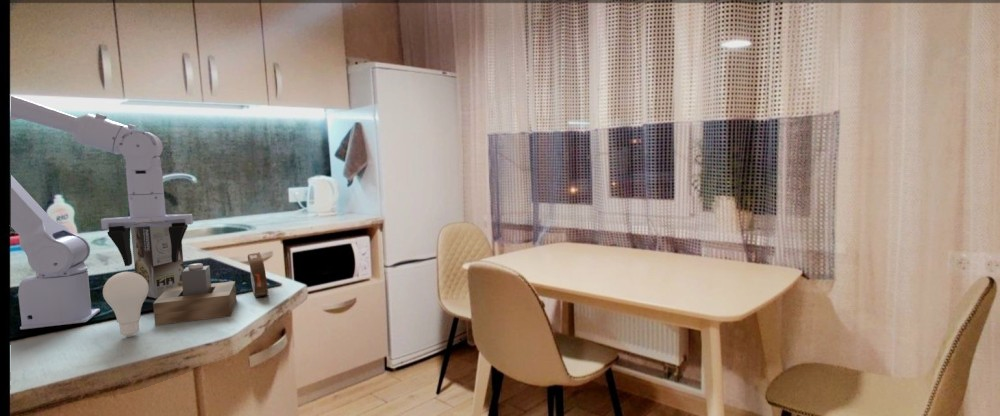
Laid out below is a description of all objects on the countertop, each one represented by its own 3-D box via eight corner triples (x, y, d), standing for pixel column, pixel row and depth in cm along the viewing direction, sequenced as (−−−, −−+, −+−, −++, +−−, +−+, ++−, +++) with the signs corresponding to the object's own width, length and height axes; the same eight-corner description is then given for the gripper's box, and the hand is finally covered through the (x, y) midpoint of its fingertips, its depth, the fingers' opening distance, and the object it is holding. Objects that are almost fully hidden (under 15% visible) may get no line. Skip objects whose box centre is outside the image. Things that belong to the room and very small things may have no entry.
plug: (183, 305, 95) (180, 267, 95) (188, 299, 99) (186, 263, 98) (207, 302, 97) (205, 265, 96) (211, 297, 100) (209, 261, 100)
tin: (269, 299, 106) (266, 260, 105) (252, 301, 105) (250, 261, 104) (263, 284, 119) (261, 249, 118) (248, 286, 118) (246, 250, 117)
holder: (154, 325, 90) (153, 303, 90) (169, 307, 101) (167, 287, 101) (230, 316, 95) (229, 295, 94) (236, 299, 106) (235, 281, 105)
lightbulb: (111, 334, 86) (104, 270, 85) (154, 328, 89) (148, 266, 88) (104, 345, 80) (97, 278, 79) (150, 338, 83) (144, 273, 82)
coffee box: (187, 292, 113) (181, 220, 111) (155, 299, 107) (149, 224, 106) (167, 287, 118) (161, 218, 116) (135, 294, 112) (129, 222, 111)
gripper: (92, 196, 91) (99, 271, 92) (186, 193, 96) (191, 263, 98) (105, 194, 97) (112, 263, 99) (192, 191, 103) (197, 257, 104)
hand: (152, 263), depth 99 cm, fingers open, 7 cm apart
